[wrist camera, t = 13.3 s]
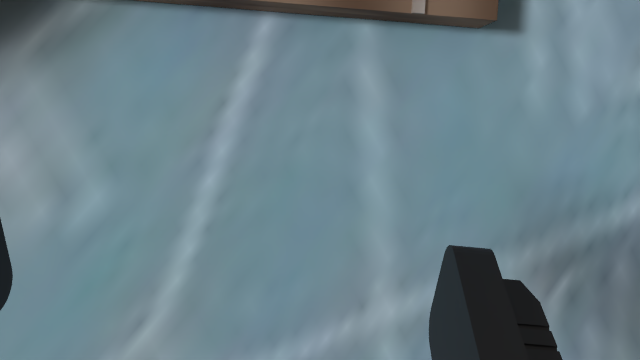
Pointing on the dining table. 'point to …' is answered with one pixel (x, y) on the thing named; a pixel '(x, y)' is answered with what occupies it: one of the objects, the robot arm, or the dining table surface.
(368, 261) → the dining table surface
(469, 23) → the fader console
